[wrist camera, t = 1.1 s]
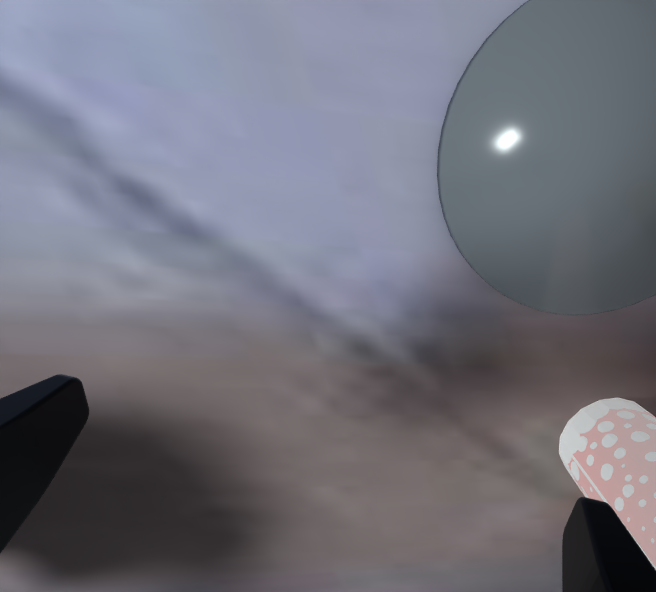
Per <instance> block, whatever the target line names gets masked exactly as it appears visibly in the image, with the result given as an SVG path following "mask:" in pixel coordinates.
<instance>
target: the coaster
mask: <svg viewBox="0 0 656 592" xmlns="http://www.w3.org/2000/svg"><path fill="white" fill-rule="evenodd" d="M437 179H438V190H439V198H440V203H441V207H442V212H443V216H444V219H445V221H446V224H447V227H448V230H449V232H450V235H451V237H452V239H453V240H454V242H455V244H456V246H457V248H458V250H459V251H460V253H461V254H462V256H463V257H464V258H465V260H466V261H467V262H468V264H469V265H470V266H471V267H472V268H473V269H474V270H475V271H476V272H477V273H478V274H479V275H480V276H481V277H482V278H483V279H484V280H485V281H486V282H487V283H488V284H489V285H491V286H492V287H493V288H495V289H496V290H498V291H499V292H500V293H502V294H503V295H504V296H506V297H508V298H510V299H512V300H514V301H516V302H518V303H520V304H522V305H525V306H528V307H531V308H533V309H536V310H540V311H545V312H550V313H555V314H566V315H585V314H597V313H602V312H607V311H613V310H617V309H620V308H623V307H626V306H630V305H633V304H635V303H638V302H640V301H642V300H644V299H647V298H649V297H651V296H653V295H655V294H656V0H529V1H527V2H526V3H524V4H523V5H521V6H520V7H519V8H518V9H517V10H516V11H514V12H513V13H512V14H511V15H510V16H508V17H507V18H506V19H505V20H504V21H503V22H502V23H501V24H500V25H499V26H498V27H497V28H496V29H495V30H494V31H493V33H492V34H491V35H490V36H489V37H488V38H487V39H486V40H485V42H484V43H483V44H482V46H481V47H480V48H479V50H478V51H477V53H476V54H475V55H474V57H473V58H472V59H471V61H470V63H469V64H468V66H467V68H466V70H465V71H464V73H463V75H462V77H461V78H460V80H459V82H458V84H457V87H456V89H455V91H454V94H453V96H452V98H451V101H450V103H449V105H448V109H447V112H446V116H445V119H444V123H443V126H442V130H441V136H440V143H439V149H438V164H437Z"/></svg>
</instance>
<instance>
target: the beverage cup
mask: <svg viewBox="0 0 656 592" xmlns="http://www.w3.org/2000/svg"><path fill="white" fill-rule="evenodd" d="M559 454H560V456H561V459H562V461H563V463H564V465H565V467H566V469H567V470H568V472H569V473H570V475H571V476H572V478H573V479H574V481H575V482H576V484H577V485H578V487H579V488H580V490H581V491H582V493H583V494H584V496H585V497H587V498H591V499H595V500H599V501H603V502H606V503H608V504H609V505H610V506H611V507H612V508H613V510H614V511H615V513H616V514H617V516H618V517H619V518H620V520H621V521H622V523H623V524H624V526H625V527H626V528H627V530H628V531H629V533H630V534H631V535H632V537H633V538H634V540H635V541H636V543H637V544H638V545H639V547H640V548H641V550H642V551H643V553H644V554H645V555H646V557H647V558H648V560H649V561H650V563H651V564H652V565H653V567H654V568H655V570H656V417H655V416H653V415H652V414H651V413H649V412H648V411H646V410H645V409H644V408H642V407H641V406H640V405H638V404H637V403H635V402H634V401H630V400H626V399H622V398H611V399H603V400H599V401H596V402H594V403H592V404H590V405H588V406H586V407H584V408H582V409H581V410H580V411H579V412H578V413H577V414H576V415H575V416H573V417H572V418H571V419H570V420H569V421H568V423H567V425H566V427H565V428H564V430H563V432H562V434H561V436H560V444H559Z"/></svg>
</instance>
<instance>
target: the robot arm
mask: <svg viewBox="0 0 656 592" xmlns="http://www.w3.org/2000/svg"><path fill="white" fill-rule="evenodd" d="M88 415H89V407H88V403H87V399H86V396H85V392H84V388H83V384H82V382H81V381H80V380H79V379H78V378H75V377H71V376H67V375H62V374H59V375H55V376H52V377H50V378H48V379H45V380H43V381H41V382H38V383H36V384H34V385H31V386H29V387H27V388H24V389H22V390H20V391H17V392H15V393H13V394H10V395H8V396H6V397H3V398H1V399H0V553H1V552H2V550H3V549H4V548H5V546H6V545H7V544H8V542H9V541H10V539H11V538H12V537H13V535H14V534H15V533H16V531H17V530H18V528H19V527H20V526H21V524H22V523H23V522H24V520H25V519H26V517H27V516H28V515H29V513H30V512H31V510H32V509H33V508H34V506H35V505H36V504H37V502H38V501H39V499H40V498H41V496H42V495H43V494H44V492H45V491H46V489H47V487H48V486H49V484H50V483H51V481H52V479H53V478H54V476H55V474H56V473H57V471H58V469H59V468H60V466H61V464H62V462H63V461H64V459H65V457H66V456H67V454H68V452H69V451H70V449H71V447H72V446H73V444H74V442H75V440H76V439H77V437H78V435H79V434H80V432H81V430H82V429H83V427H84V425H85V423H86V421H87V419H88ZM562 581H563V592H656V570H655V568H654V567H653V565H652V564H651V563H650V561H649V560H648V558H647V557H646V555H645V554H644V553H643V551H642V550H641V548H640V547H639V545H638V544H637V543H636V541H635V540H634V538H633V537H632V535H631V534H630V533H629V531H628V530H627V528H626V527H625V526H624V524H623V523H622V521H621V520H620V518H619V517H618V516H617V514H616V513H615V511H614V510H613V508H612V507H611V506H610V505H609V504H608V503H606V502H603V501H599V500H595V499H591V498H587V497H581V498H579V499H578V500H577V502H576V504H575V506H574V508H573V510H572V513H571V515H570V517H569V519H568V522H567V524H566V526H565V529H564V533H563V543H562Z"/></svg>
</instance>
